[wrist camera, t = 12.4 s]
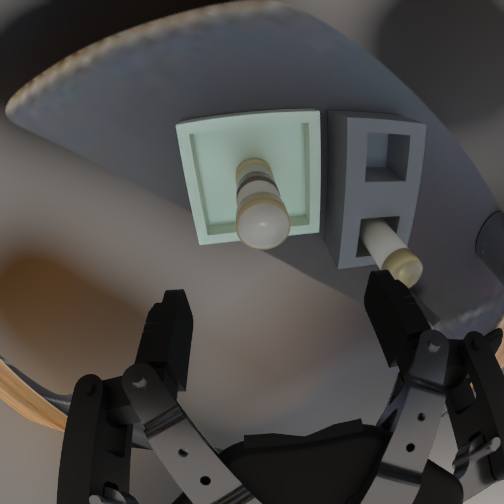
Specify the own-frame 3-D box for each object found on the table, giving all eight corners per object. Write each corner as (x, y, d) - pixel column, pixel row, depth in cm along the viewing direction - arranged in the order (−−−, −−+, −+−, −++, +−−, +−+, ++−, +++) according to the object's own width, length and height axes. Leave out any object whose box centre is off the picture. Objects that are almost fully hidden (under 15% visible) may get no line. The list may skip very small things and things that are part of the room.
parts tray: (311, 108, 22) (319, 111, 20) (312, 220, 29) (319, 232, 27) (181, 121, 22) (175, 125, 20) (202, 232, 29) (199, 245, 27)
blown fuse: (270, 155, 24) (290, 199, 16) (272, 189, 26) (291, 246, 18) (233, 159, 24) (232, 205, 16) (237, 192, 26) (239, 252, 18)
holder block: (398, 114, 22) (426, 124, 18) (384, 235, 31) (403, 260, 26) (327, 110, 22) (347, 117, 18) (324, 242, 31) (337, 269, 27)
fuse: (378, 202, 27) (427, 256, 19) (374, 229, 29) (416, 287, 21) (350, 204, 27) (394, 262, 19) (347, 232, 29) (385, 294, 21)
